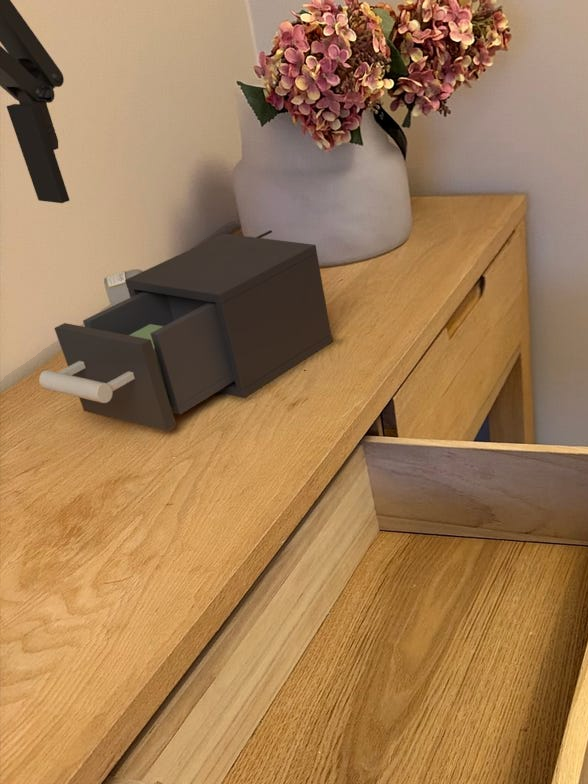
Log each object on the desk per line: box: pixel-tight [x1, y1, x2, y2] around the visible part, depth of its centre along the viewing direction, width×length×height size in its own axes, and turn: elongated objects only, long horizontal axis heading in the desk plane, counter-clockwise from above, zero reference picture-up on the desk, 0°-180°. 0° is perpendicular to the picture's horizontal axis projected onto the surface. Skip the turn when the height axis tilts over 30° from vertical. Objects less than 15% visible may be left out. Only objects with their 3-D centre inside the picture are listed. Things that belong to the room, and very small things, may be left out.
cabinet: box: [125, 233, 333, 399], centre depth 95 cm, size 14×12×10 cm
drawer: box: [38, 291, 235, 432], centre depth 87 cm, size 17×10×8 cm, turn 150°
